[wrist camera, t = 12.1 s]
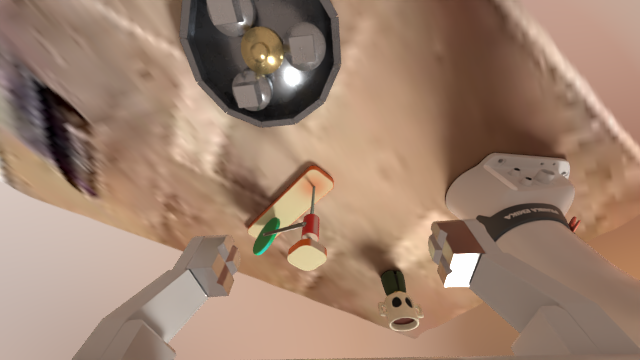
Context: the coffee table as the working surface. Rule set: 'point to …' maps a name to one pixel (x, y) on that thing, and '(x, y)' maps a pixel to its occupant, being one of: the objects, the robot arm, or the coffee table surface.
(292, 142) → the coffee table surface
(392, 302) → the character mug
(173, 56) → the coffee table surface
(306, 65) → the gear
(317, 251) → the crank mechanism
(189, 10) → the carrier
